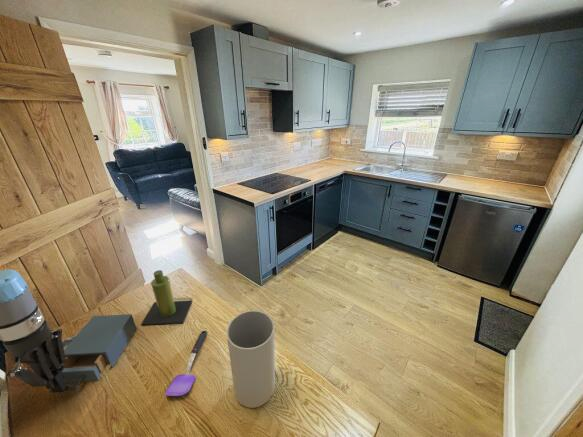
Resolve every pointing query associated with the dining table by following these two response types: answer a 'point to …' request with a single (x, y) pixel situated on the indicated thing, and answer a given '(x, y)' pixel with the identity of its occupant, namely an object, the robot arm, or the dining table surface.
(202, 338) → the spatula
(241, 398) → the cylinder vase
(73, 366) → the drawer
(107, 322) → the cabinet
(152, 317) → the mat
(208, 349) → the dining table surface
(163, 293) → the oil bottle
